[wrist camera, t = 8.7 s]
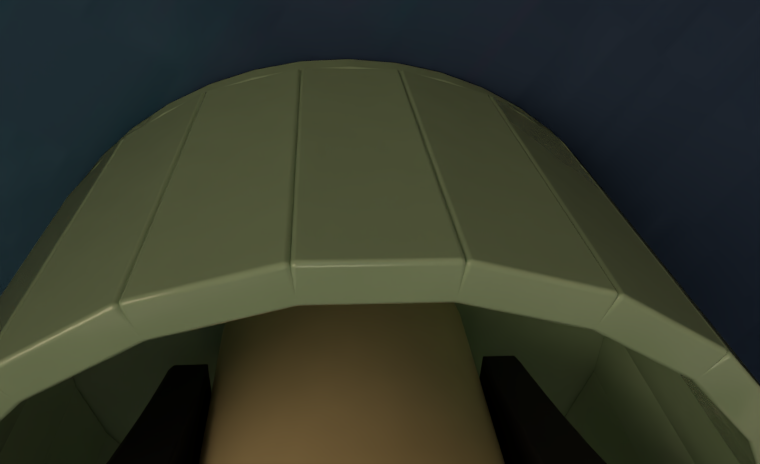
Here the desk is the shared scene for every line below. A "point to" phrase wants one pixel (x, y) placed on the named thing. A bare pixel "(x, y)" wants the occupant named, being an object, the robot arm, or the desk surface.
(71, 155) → the desk surface
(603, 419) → the green bowl
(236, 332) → the tape roll
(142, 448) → the robot arm
